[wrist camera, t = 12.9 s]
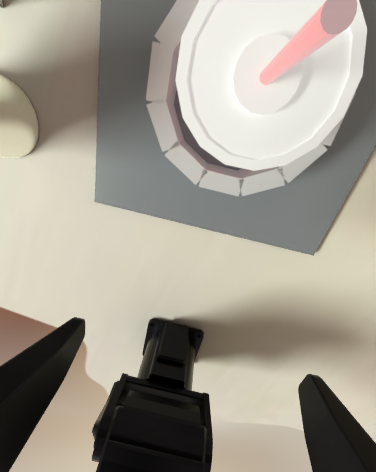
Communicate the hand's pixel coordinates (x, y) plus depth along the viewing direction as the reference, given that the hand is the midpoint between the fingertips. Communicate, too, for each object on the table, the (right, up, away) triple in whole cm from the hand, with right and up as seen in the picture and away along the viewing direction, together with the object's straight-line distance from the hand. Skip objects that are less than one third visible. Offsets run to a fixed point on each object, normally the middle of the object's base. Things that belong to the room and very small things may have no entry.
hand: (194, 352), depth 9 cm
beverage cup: (+3, +14, +7) cm, 16 cm away
